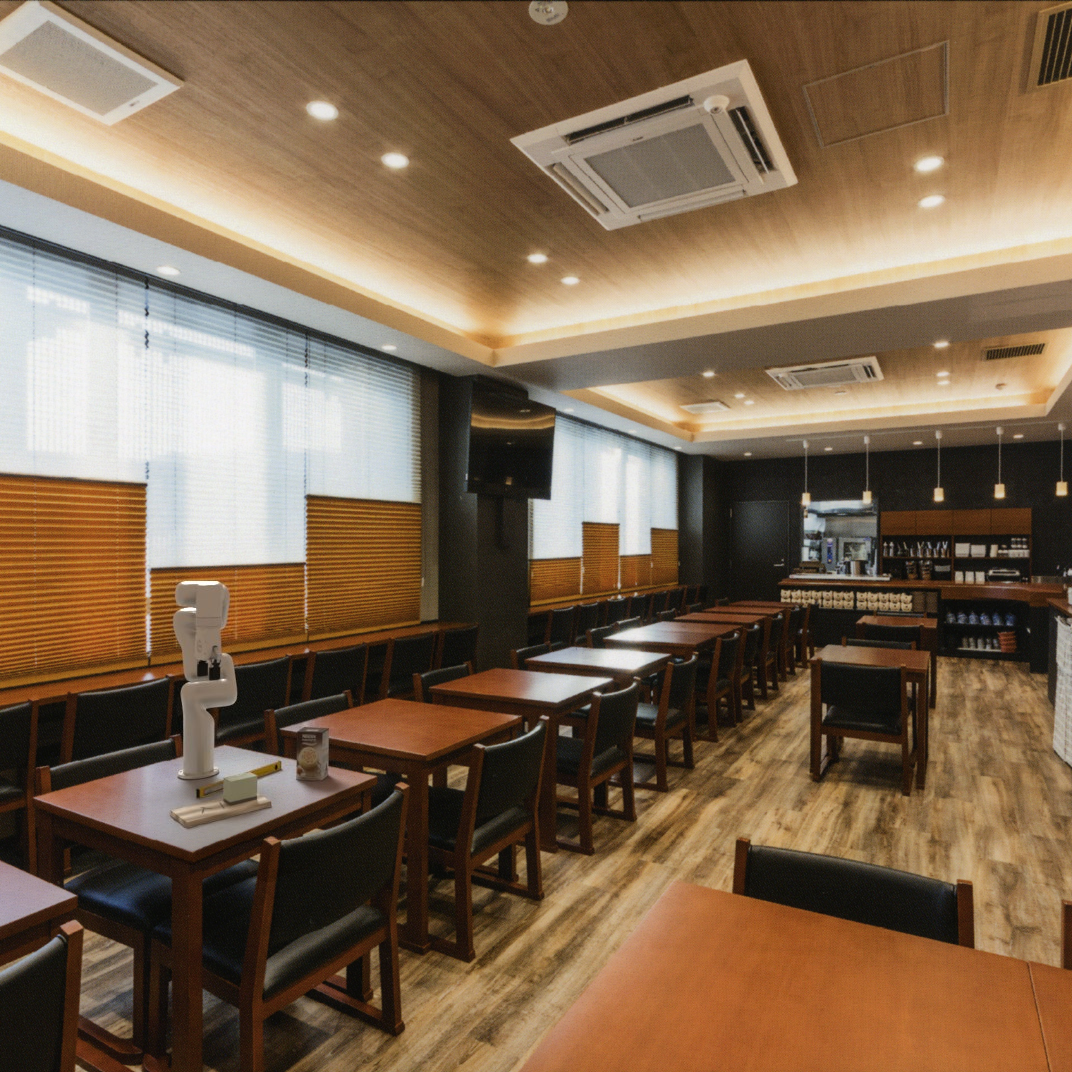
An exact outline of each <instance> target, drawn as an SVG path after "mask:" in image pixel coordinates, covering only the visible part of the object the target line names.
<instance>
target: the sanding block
mask: <svg viewBox="0 0 1072 1072" xmlns="http://www.w3.org/2000/svg"><path fill="white" fill-rule="evenodd" d="M247 772H248V773H246V772H243V773H240V774H236V775H235V774H234V775H230V776H225V777H223V780H224V786H223V790H222V792H223V793H222V794H223V796H222V798H223V802H225V803H227V804H228V805H230V806H231V805H235V804H239V803H243V802H248V801H252V800H256V799H257V793H258V777H257V775H255V774H253V773H251V772H249V771H247Z"/></svg>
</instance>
